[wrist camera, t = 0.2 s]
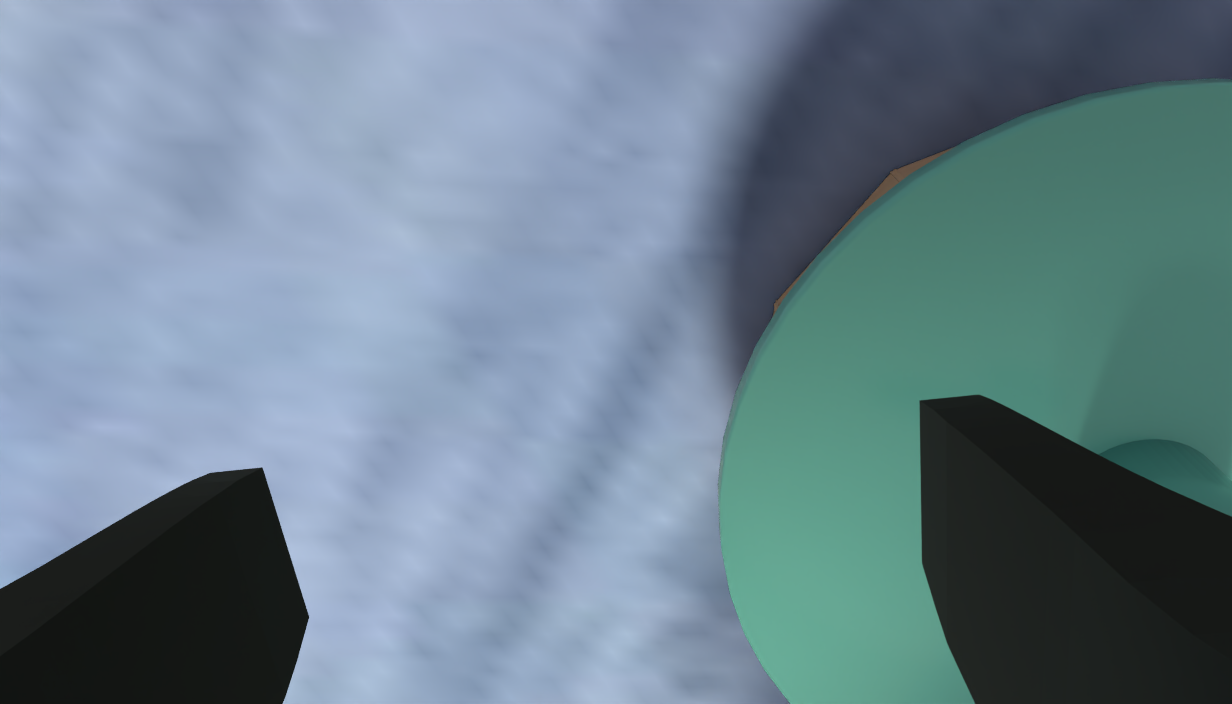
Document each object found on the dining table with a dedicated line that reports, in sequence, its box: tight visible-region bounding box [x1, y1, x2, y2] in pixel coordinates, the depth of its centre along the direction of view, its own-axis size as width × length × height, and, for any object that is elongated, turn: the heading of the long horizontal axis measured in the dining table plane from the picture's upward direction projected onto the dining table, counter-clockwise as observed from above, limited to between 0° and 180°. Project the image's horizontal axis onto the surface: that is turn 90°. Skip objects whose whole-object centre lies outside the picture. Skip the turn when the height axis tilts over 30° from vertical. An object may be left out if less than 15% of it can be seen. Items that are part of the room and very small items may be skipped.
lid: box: [718, 78, 1232, 704], centre depth 16 cm, size 15×15×4 cm
